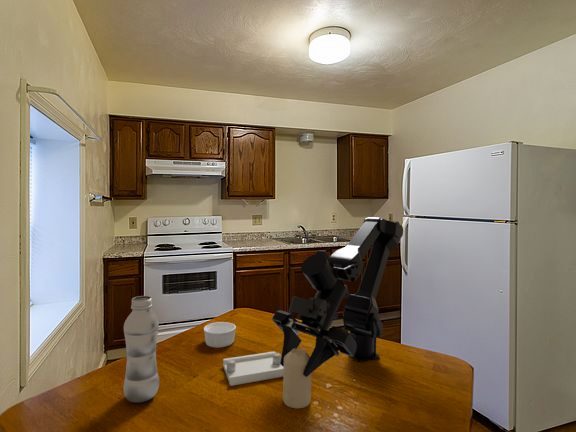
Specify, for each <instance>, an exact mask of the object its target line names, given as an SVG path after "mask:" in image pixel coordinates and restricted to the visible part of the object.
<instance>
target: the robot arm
mask: <svg viewBox="0 0 576 432" xmlns="http://www.w3.org/2000/svg"><path fill="white" fill-rule="evenodd" d="M403 236H404V227H403V225H401V224H400V222H399V221H395V220H387V219H385V218H382V217H375V216H373V217H371V216H370V217H366V218H364V220H363V222H362V225H361V227H360V228H359V229H358V230H357V231H356V233H355V234H354V235H353V236H352V238H351V239H350V241H349V242H348V243H347V244H346V245H345V247H342V248H339V249H337V250H335V251H334V252H333V253H332V254H331V255H330V256H329V255H328V253H327V251H326V250H320V249H319V250H317V251H316V253H315V254H311V255H310V256H308V257H306V259H304V260H303V262H302V263H301V265H300V269H301V272H302V274H303V275H304V276H305V277H306V280H307V281H308V282H309V283H310V285H311V286H312V288H313V289H314V290H316V293H315V295H314V297H312V296H311V297H309V298H308V299H306V298H302V297H298V296H292V298H291V302H290V305H289V309H288V312H287V311H284V310H281V309H279V310H276V311H275V313H274V314H273V316H272V318H271V321H272V322H274V323H273V324H275V325H276V326H277V327H278V328H279V329H280V330H281V332H282V333H283V345H282V349H281V350H282V351H281V362H280V364H281V365H282V366H283V367H284V356H285V355H286V354H288V353H289V352H290V351H291V350H292V349H293V348H295V349H298V348H299V346H300V344H301V342H302V341H303V340H302V339H301V338H300V336H299V334H300V333H302V334H305V335H308V336H312V337H313V338H315V344H314V349H312V350H313V351H312V353H311V354H310V355H309V356H310V359H309V361H308V363H307V365H306V367H305V370H304V372H303V375H304V376H305V377H307V376H308V375H310V374H311V375H312V373H313V372H315V370H317V369H319V368H320V366H322V365H323V364H324V363H326V362H327V361H328V360H330V359H331V358H333V357H335V356H336V357H338V356H339V355H340V354H342V355H346V356H349V357H352V358H353V359H355V360H356V361H358V362H363V361H364V362H365V361H370V360H371V361H372V360H376V359H380V357H381V356H380V354H378V353H377V338H380V337H382V333H383V328H384V324H383V323H382V321H381V319H380V317H379V307H378V303H377V299H376V298H377V297H378V296H377V295H378V293H379V289H380V285H381V282H382V279H383V275H384V272H385V270H386V266H387V262H388V260H389V259H388V258H389V256H390V252H391V251H394V249H396V248H397V246H399V244H400V241H401V239H402V238H403ZM371 247H372V248H371ZM370 249H371V250H370ZM369 250H370V253H369V257H368V260H367V262H366V266H365V269H364V266H363V265H364V264H363V260H364V257H365V256H366V255H367V253H368V252H369ZM363 269H364V272H363V275H362V278H361V280H360V281H361V282H360V284H359V286H358V290H357V292H356V293H354V294H352V293H350V292H349V289H348V285H346V284H345V283H344V281H346V282H352V283H353V282H356V281H357V280H358V279H359V277H360V276H361V273H362V271H363ZM344 298H347V299H346V303H345V305H344V307H343V310H342V317H341V318H342V322H343V327H344V329H343V328H340V327H337V326H332V324H333V321H337V320H338V319H339V315H338V313H337V312H338V310H339V308H340V307H341V304H342V301H343V299H344ZM292 313H295V314H297V318H298V319H299V320H301V321H299V320H297V319H296V318H295V317H294V315H293V314H292Z"/></svg>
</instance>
